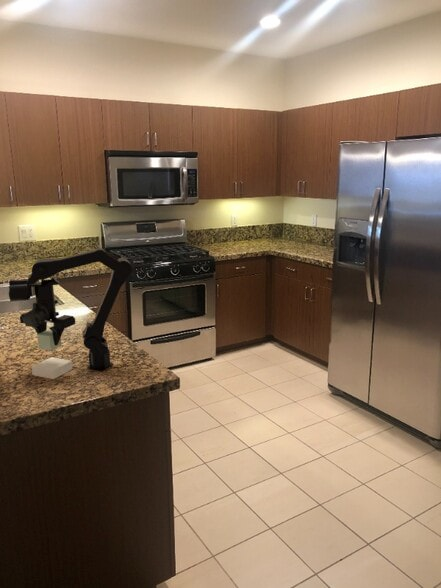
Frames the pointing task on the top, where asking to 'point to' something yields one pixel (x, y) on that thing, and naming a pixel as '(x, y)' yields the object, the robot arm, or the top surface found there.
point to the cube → (47, 340)
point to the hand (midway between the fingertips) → (50, 344)
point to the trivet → (52, 368)
